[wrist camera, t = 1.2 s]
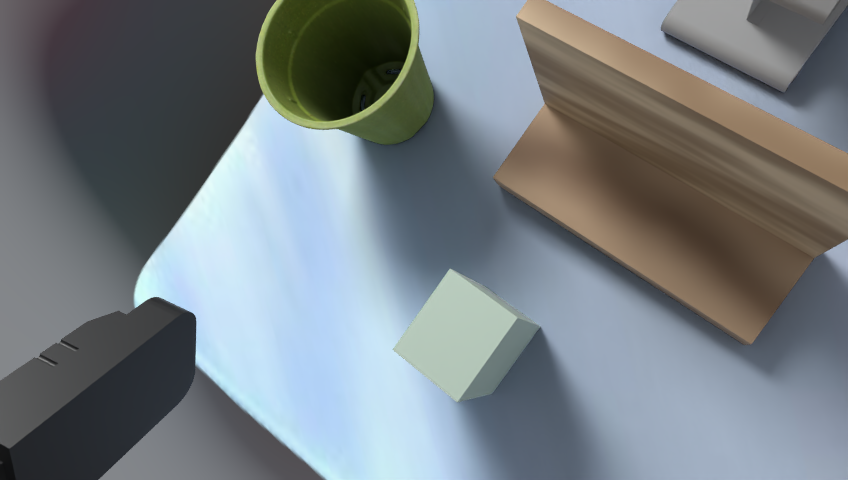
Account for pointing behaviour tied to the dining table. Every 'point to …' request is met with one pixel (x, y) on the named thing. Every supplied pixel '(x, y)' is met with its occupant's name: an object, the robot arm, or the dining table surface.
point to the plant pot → (346, 67)
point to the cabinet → (465, 338)
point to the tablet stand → (755, 33)
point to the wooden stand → (673, 174)
